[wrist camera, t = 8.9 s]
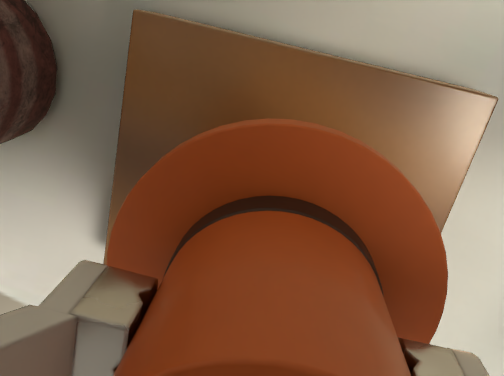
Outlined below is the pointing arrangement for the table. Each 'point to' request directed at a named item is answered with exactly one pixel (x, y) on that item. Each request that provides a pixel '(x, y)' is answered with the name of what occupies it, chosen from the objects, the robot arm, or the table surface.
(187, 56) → the brown wooden slab
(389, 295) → the hat
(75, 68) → the table surface
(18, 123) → the can
